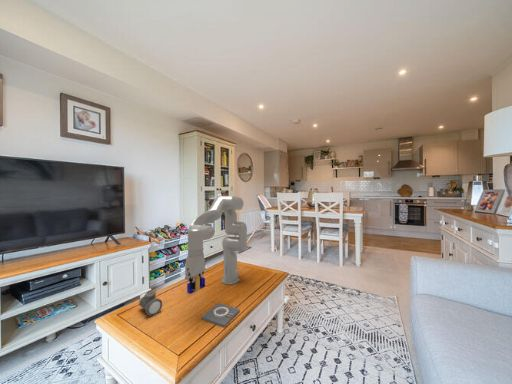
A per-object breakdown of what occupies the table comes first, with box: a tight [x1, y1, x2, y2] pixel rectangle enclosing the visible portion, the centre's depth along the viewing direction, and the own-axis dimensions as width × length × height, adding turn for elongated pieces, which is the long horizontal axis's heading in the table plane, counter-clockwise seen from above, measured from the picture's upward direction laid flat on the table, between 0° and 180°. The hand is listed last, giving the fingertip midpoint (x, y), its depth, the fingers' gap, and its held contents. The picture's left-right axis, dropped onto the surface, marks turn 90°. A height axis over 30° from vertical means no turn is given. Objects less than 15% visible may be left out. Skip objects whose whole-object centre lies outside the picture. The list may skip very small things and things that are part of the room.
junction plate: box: [201, 302, 240, 328], centre depth 104 cm, size 14×14×2 cm
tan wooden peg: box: [194, 274, 201, 292], centre depth 104 cm, size 4×4×8 cm
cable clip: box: [186, 276, 206, 295], centre depth 132 cm, size 12×4×6 cm, turn 146°
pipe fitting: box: [138, 290, 163, 317], centre depth 108 cm, size 12×8×10 cm
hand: (195, 286), depth 104 cm, fingers closed on tan wooden peg, 4 cm apart
